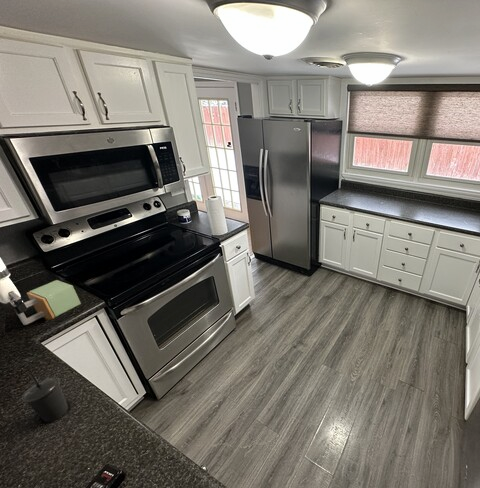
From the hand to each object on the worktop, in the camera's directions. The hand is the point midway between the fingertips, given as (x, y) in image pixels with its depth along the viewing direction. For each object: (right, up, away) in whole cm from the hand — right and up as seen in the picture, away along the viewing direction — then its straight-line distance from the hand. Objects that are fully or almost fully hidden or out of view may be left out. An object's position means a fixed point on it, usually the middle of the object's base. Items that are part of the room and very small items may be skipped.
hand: (16, 309), depth 110 cm
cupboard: (+5, -4, +15) cm, 16 cm away
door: (+2, -8, +7) cm, 11 cm away
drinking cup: (+49, -27, -29) cm, 63 cm away
